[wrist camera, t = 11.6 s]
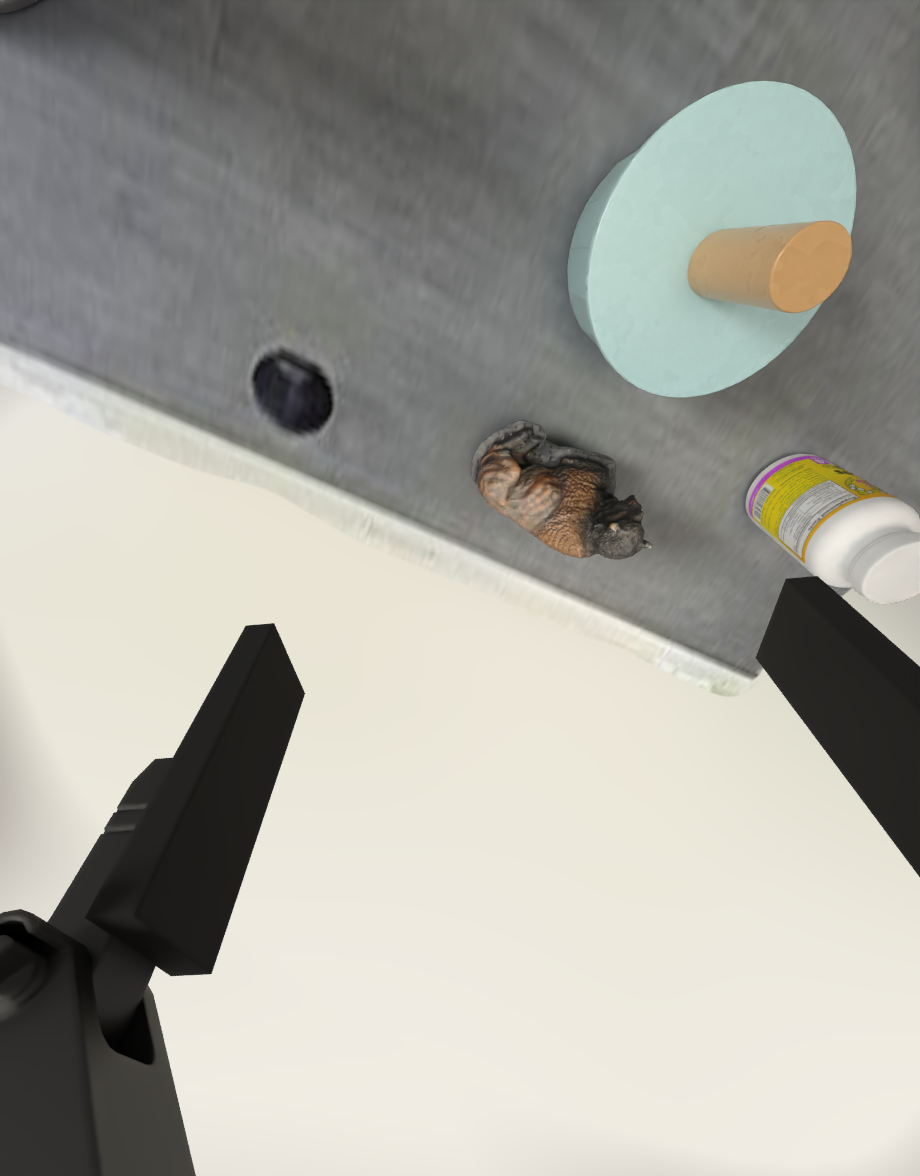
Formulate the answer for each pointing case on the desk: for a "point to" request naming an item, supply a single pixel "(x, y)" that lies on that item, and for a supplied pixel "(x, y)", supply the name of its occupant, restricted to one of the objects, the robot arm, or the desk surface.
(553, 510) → the brown striped lumpy figure
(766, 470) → the supplement bottle
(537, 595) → the desk surface
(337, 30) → the desk surface
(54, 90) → the desk surface
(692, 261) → the lid
